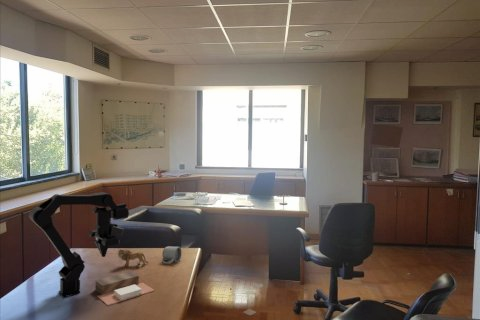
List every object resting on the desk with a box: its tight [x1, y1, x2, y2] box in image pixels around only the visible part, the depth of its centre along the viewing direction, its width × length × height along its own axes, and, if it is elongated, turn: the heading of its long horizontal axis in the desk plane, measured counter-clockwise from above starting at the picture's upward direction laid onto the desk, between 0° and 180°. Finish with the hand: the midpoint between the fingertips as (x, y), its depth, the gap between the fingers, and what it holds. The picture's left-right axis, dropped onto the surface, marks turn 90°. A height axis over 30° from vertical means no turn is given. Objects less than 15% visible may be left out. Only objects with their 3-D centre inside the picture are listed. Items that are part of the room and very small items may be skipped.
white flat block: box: [114, 284, 142, 300], centre depth 140 cm, size 9×6×2 cm, turn 134°
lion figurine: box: [117, 248, 149, 268], centre depth 174 cm, size 15×5×9 cm, turn 112°
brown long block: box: [94, 270, 140, 295], centre depth 147 cm, size 16×7×4 cm, turn 134°
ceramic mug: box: [161, 246, 183, 265], centre depth 180 cm, size 11×8×8 cm
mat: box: [97, 282, 155, 306], centre depth 141 cm, size 20×10×1 cm, turn 134°
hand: (103, 256), depth 150 cm, fingers closed
